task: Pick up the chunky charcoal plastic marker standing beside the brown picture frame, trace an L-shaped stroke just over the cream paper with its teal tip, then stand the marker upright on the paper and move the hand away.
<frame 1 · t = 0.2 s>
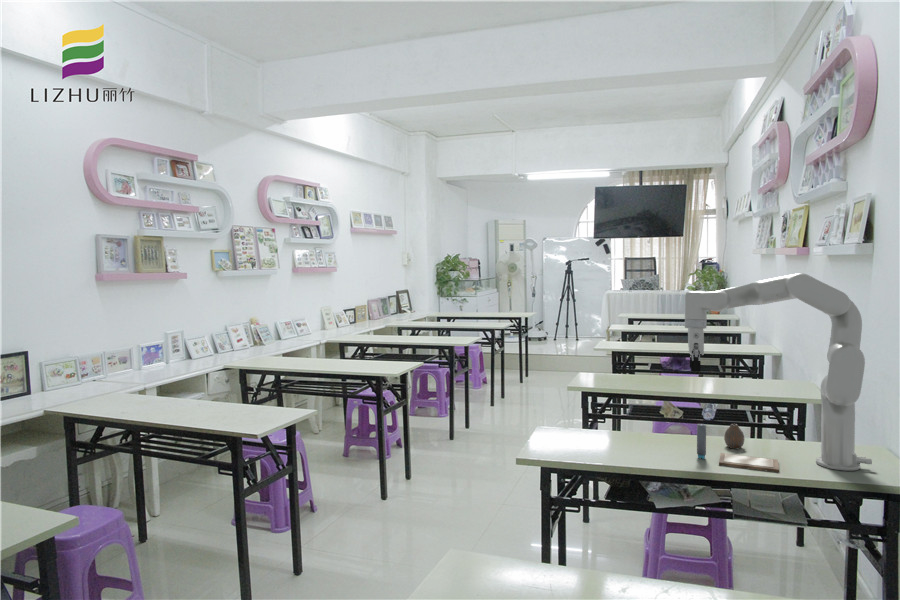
hand: (694, 369, 217), 30 cm above the table, tool pointing down, fingers open, 9 cm apart
brown picture frame: (748, 463, 201), on the table
marker: (701, 458, 208), on the table
vase: (734, 447, 221), on the table
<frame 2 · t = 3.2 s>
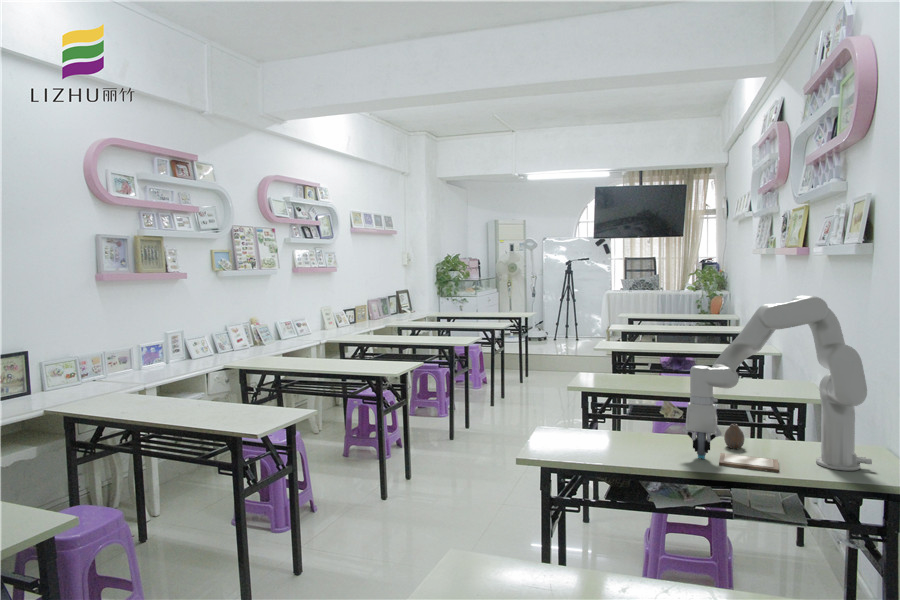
hand: (701, 450, 208), 3 cm above the table, tool pointing down, fingers closed on marker, 3 cm apart
marker: (701, 458, 208), on the table, touching gripper
everything else where it was.
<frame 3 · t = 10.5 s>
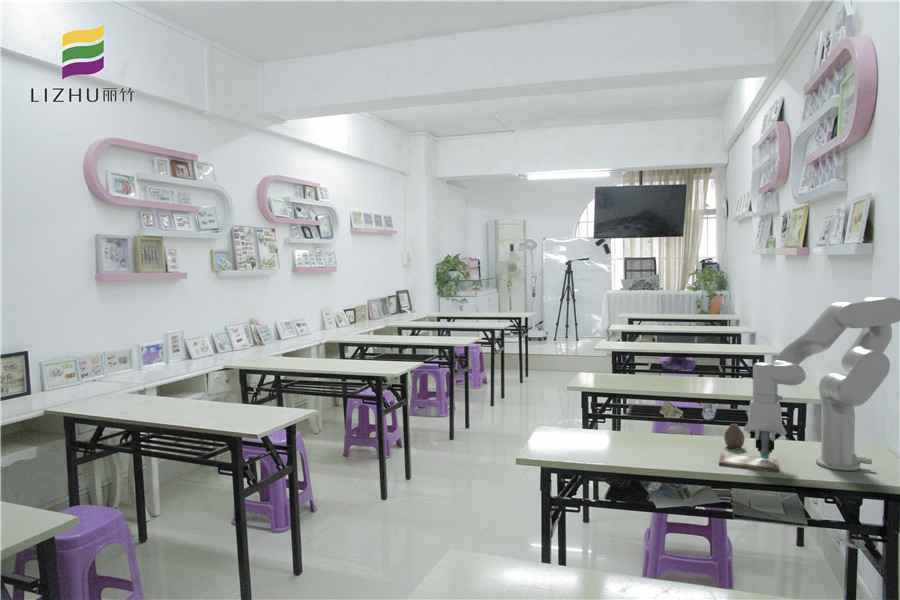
hand: (764, 450, 201), 4 cm above the table, tool pointing down, fingers closed on marker, 3 cm apart
marker: (764, 457, 201), point 2 cm above the table, touching gripper
everything else where it was.
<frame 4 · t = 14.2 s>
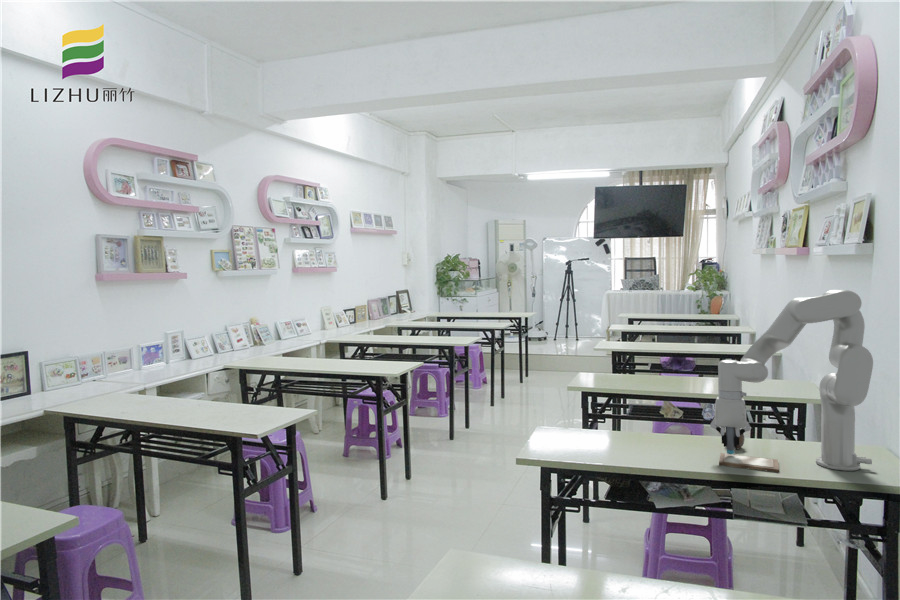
hand: (730, 445, 206), 5 cm above the table, tool pointing down, fingers closed on marker, 3 cm apart
marker: (730, 453, 206), point 2 cm above the table, touching gripper
everything else where it was.
when the fingers open (4 cm above the table, at t = 17.8 s): marker stays where it is, resting on brown picture frame.
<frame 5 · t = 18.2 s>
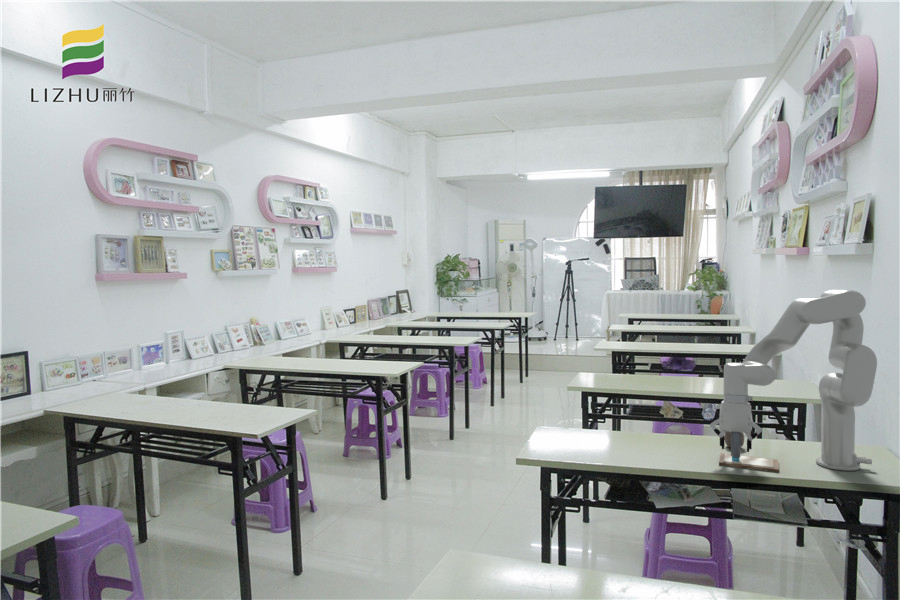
hand: (735, 449, 201), 5 cm above the table, tool pointing down, fingers open, 7 cm apart
marker: (735, 460, 201), point 1 cm above the table, touching brown picture frame
everything else where it was.
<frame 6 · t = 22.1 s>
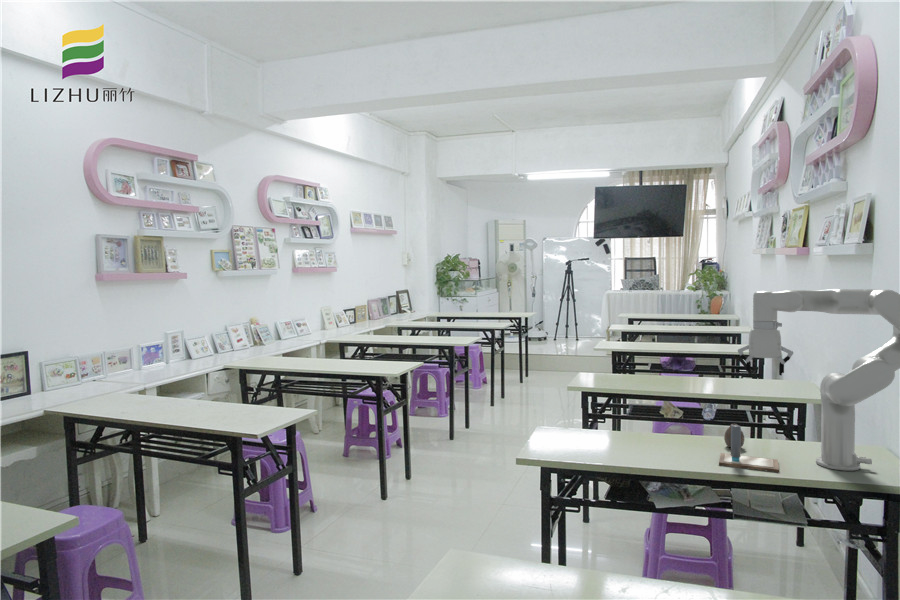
hand: (764, 374, 205), 30 cm above the table, tool pointing down, fingers open, 9 cm apart
nothing on the table moved.
at the end: marker 0.1 cm from the target spot on the brown picture frame, point 1.2 cm above the brown picture frame's base; marker tilted 1°; the gripper is holding nothing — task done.
